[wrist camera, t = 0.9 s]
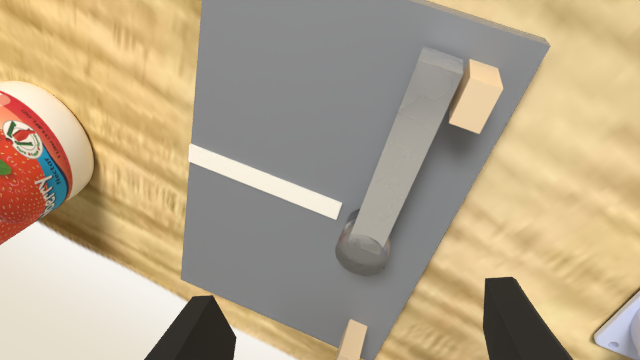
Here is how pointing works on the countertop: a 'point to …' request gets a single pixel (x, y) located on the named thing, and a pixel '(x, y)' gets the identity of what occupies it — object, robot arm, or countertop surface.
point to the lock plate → (331, 151)
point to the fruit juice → (38, 156)
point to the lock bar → (399, 163)
